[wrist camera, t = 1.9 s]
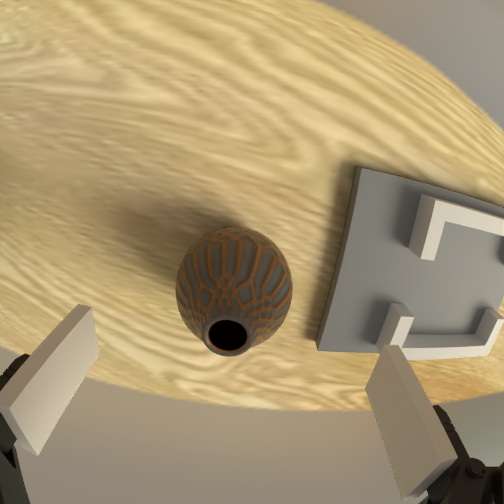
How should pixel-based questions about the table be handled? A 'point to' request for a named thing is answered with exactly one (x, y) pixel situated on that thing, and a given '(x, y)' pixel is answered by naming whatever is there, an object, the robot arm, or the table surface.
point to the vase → (233, 289)
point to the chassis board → (415, 271)
